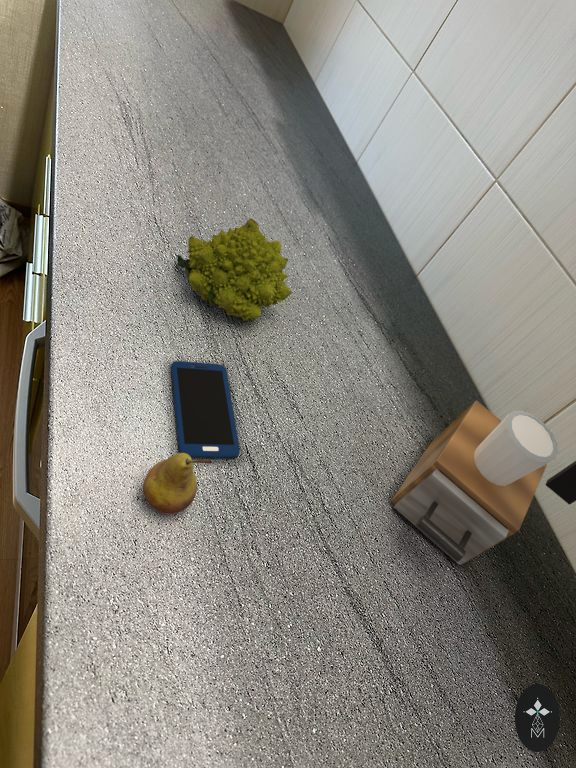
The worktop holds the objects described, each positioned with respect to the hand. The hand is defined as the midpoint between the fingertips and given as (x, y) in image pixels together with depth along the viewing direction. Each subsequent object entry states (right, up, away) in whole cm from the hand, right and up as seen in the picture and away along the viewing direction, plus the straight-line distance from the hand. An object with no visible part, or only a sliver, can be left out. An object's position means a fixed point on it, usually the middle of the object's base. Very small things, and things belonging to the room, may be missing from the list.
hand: (573, 451), depth 57 cm
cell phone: (-39, +3, +14) cm, 42 cm away
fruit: (-42, -6, +5) cm, 43 cm away
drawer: (-9, -10, +17) cm, 22 cm away
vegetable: (-37, +19, +28) cm, 50 cm away
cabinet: (-7, -9, +20) cm, 23 cm away
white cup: (-4, -3, +12) cm, 13 cm away
